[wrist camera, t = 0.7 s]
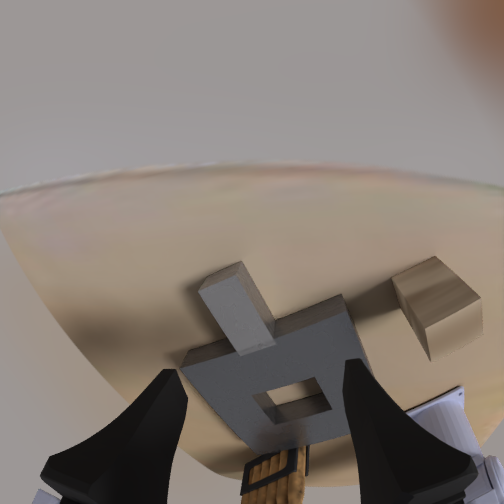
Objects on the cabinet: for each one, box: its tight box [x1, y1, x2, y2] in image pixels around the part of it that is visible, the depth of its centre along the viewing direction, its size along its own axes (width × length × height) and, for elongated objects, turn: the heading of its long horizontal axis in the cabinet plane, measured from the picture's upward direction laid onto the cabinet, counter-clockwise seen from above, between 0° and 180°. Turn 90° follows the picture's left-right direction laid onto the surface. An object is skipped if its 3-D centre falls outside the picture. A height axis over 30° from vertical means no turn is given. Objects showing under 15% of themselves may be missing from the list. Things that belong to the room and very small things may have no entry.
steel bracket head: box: [180, 261, 375, 455], centre depth 23 cm, size 20×14×2 cm
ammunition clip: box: [240, 445, 310, 504], centre depth 24 cm, size 11×2×12 cm, turn 146°
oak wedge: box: [391, 256, 483, 363], centre depth 17 cm, size 3×4×7 cm
